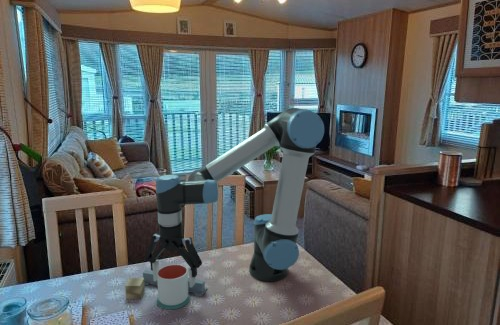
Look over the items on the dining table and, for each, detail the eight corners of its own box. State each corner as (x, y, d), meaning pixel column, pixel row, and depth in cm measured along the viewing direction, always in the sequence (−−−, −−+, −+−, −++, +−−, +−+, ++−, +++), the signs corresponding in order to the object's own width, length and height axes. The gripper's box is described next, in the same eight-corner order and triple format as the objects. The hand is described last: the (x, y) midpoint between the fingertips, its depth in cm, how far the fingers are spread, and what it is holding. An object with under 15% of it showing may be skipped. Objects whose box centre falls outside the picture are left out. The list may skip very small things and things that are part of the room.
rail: (207, 289, 124) (207, 278, 123) (201, 296, 119) (200, 286, 118) (148, 277, 131) (147, 268, 130) (140, 284, 126) (139, 274, 125)
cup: (181, 309, 111) (180, 281, 109) (153, 305, 113) (151, 277, 111) (192, 292, 121) (192, 266, 119) (166, 288, 123) (165, 263, 121)
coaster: (195, 293, 121) (195, 292, 121) (179, 312, 111) (179, 311, 110) (167, 288, 124) (167, 287, 124) (150, 305, 114) (150, 304, 114)
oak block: (144, 290, 123) (144, 278, 122) (140, 299, 118) (140, 285, 117) (130, 291, 122) (129, 278, 121) (126, 299, 117) (125, 285, 116)
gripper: (210, 222, 112) (212, 281, 116) (144, 215, 119) (148, 271, 123) (200, 231, 105) (203, 294, 109) (130, 223, 112) (136, 282, 116)
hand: (174, 282), depth 116 cm, fingers open, 13 cm apart
